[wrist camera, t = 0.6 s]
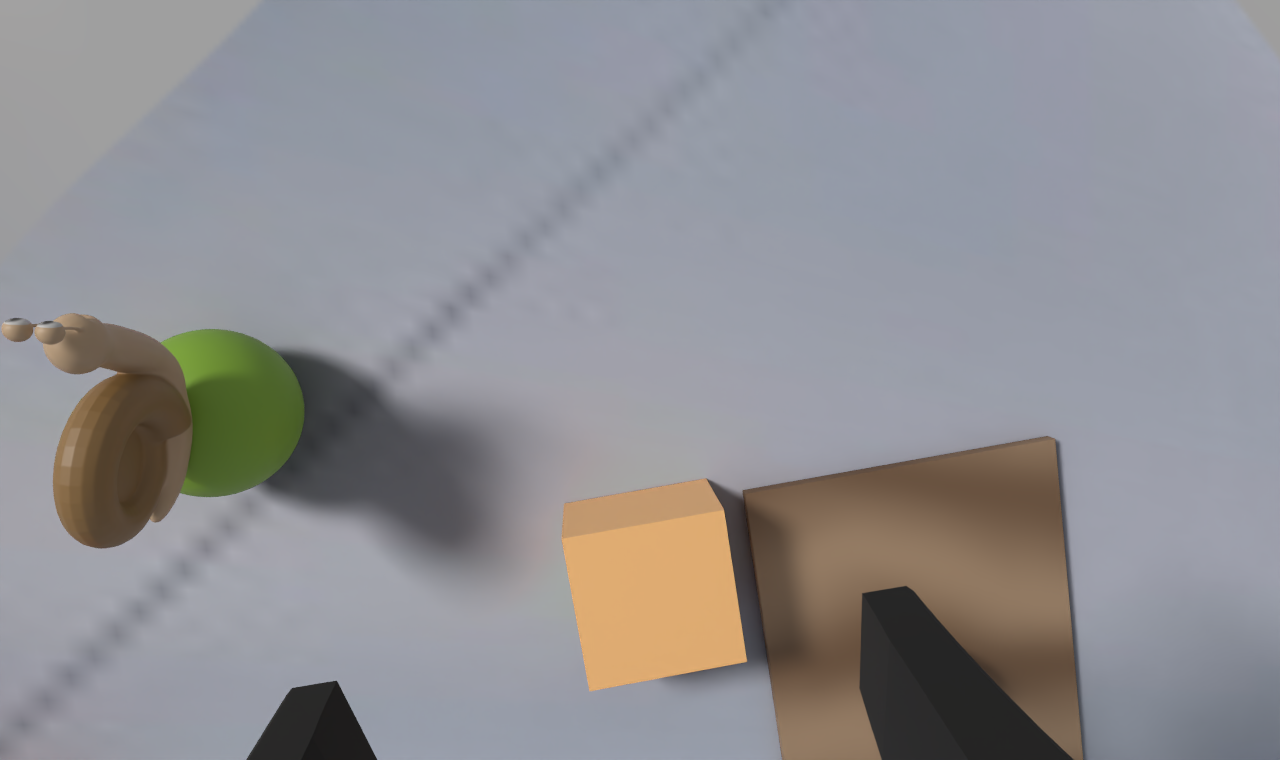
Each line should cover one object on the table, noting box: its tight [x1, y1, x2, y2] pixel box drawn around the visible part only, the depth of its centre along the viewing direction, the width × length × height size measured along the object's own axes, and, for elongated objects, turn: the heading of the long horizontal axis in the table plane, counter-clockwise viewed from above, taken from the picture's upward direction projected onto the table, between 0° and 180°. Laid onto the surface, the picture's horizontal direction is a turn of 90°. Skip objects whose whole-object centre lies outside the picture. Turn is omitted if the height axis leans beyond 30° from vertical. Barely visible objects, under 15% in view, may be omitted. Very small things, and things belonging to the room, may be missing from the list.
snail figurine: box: [2, 313, 304, 548], centre depth 24 cm, size 5×6×12 cm
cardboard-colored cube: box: [562, 479, 747, 691], centre depth 30 cm, size 5×5×4 cm
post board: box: [743, 436, 1083, 760], centre depth 31 cm, size 16×12×3 cm
